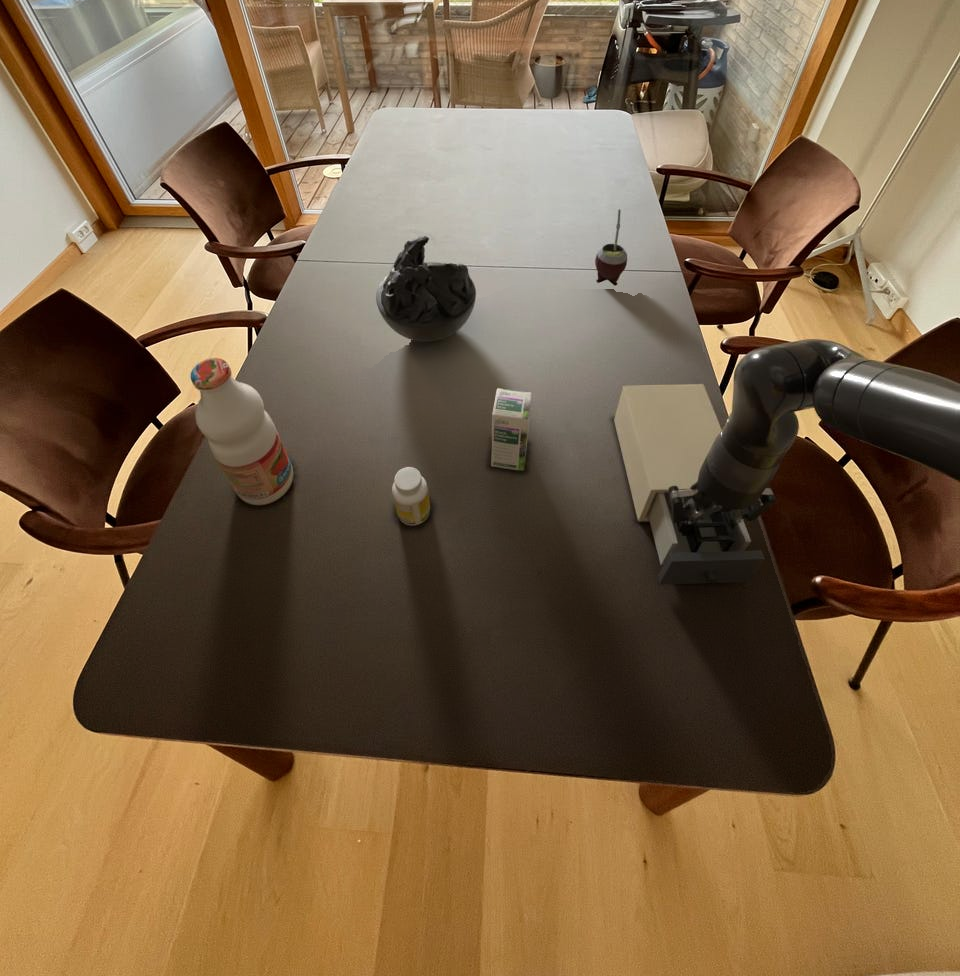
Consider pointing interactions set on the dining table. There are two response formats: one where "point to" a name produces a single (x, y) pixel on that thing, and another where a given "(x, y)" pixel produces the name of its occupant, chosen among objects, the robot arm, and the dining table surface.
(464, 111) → the dining table surface
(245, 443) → the fruit juice
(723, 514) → the rack
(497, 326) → the dining table surface
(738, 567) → the two-tone hollow box
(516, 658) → the dining table surface
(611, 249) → the mate gourd
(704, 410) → the cream drawer box
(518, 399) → the syrup box
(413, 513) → the supplement bottle
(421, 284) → the coal bowl
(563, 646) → the dining table surface
